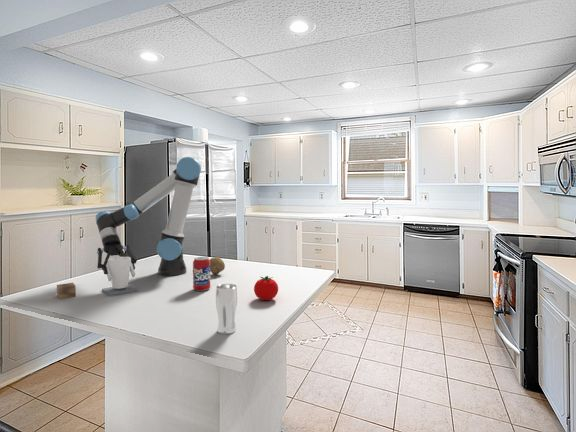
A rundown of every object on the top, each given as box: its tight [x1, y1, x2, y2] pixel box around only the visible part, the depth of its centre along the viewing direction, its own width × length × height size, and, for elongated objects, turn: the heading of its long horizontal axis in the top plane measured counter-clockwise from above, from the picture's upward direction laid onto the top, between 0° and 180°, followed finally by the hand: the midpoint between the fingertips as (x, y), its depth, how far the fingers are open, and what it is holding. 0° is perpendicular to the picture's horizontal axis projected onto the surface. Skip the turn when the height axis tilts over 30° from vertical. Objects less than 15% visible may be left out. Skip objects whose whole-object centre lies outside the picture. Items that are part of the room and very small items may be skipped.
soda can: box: [192, 256, 211, 292], centre depth 156 cm, size 8×8×15 cm
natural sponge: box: [209, 256, 226, 276], centre depth 184 cm, size 9×9×10 cm
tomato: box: [253, 275, 279, 301], centre depth 143 cm, size 10×10×10 cm
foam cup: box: [107, 256, 131, 289], centre depth 153 cm, size 10×9×13 cm
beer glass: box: [215, 283, 238, 335], centre depth 111 cm, size 7×7×15 cm
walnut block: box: [56, 282, 77, 300], centre depth 145 cm, size 6×6×5 cm
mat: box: [101, 283, 139, 297], centre depth 154 cm, size 12×12×1 cm
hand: (122, 277), depth 151 cm, fingers closed on foam cup, 9 cm apart
